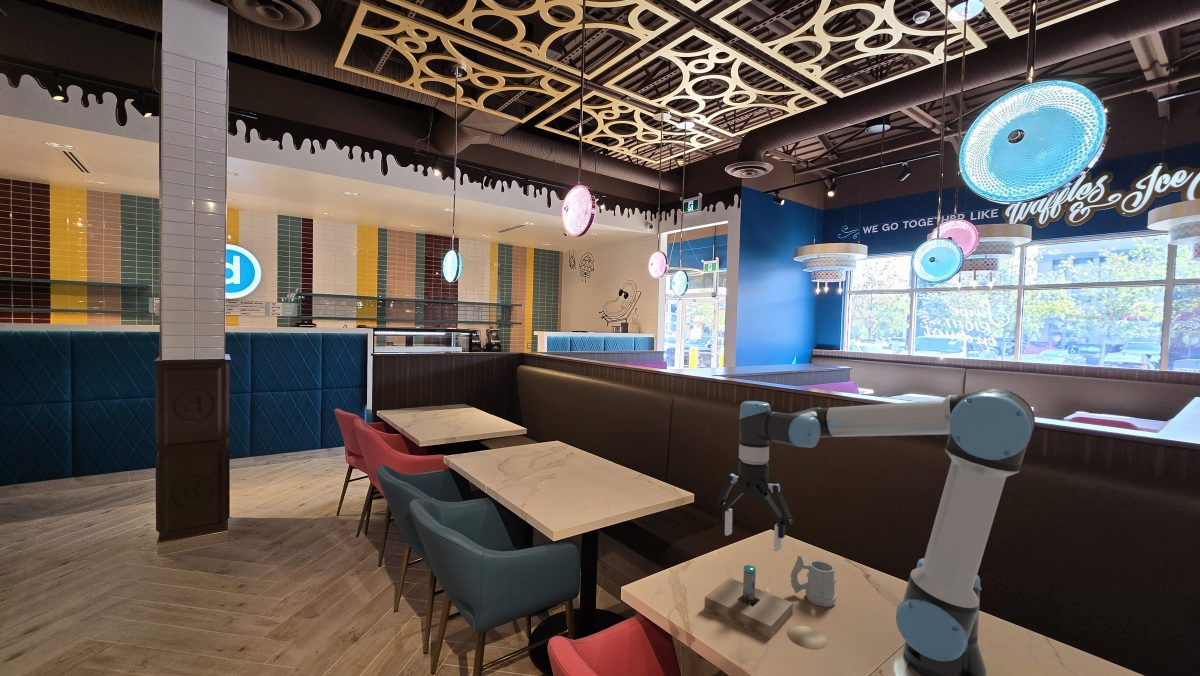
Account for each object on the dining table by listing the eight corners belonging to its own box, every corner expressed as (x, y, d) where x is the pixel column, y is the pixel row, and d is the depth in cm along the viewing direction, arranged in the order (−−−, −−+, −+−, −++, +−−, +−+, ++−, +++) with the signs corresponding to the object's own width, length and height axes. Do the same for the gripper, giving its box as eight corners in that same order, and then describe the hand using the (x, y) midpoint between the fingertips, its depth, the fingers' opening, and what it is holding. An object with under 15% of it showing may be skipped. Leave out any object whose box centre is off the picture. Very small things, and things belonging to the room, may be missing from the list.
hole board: (792, 616, 128) (793, 602, 128) (770, 640, 118) (771, 626, 117) (729, 589, 140) (729, 577, 140) (704, 609, 130) (704, 596, 130)
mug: (838, 611, 131) (839, 567, 130) (790, 602, 134) (792, 559, 134) (833, 596, 138) (835, 554, 138) (788, 588, 142) (790, 547, 141)
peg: (756, 612, 129) (757, 568, 129) (751, 617, 127) (752, 572, 126) (745, 608, 131) (746, 564, 131) (740, 612, 129) (741, 568, 128)
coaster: (831, 638, 119) (831, 636, 119) (819, 656, 112) (819, 654, 112) (794, 622, 125) (794, 621, 125) (780, 638, 118) (780, 636, 118)
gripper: (807, 467, 122) (806, 551, 122) (717, 450, 139) (716, 524, 139) (796, 473, 117) (794, 561, 117) (704, 454, 133) (702, 532, 134)
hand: (752, 541), depth 128 cm, fingers open, 13 cm apart
